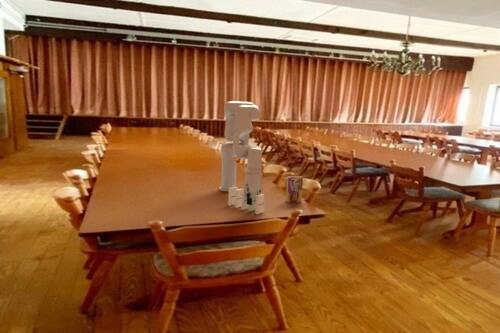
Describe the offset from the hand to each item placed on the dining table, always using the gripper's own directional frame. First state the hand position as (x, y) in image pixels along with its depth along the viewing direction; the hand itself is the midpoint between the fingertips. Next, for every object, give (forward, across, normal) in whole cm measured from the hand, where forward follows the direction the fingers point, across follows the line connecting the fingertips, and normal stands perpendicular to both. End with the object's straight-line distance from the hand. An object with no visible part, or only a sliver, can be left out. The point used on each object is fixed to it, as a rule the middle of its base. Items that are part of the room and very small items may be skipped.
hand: (252, 203), depth 187 cm
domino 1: (+4, 0, -15) cm, 16 cm away
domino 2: (+4, 0, -10) cm, 11 cm away
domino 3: (+4, 0, -5) cm, 7 cm away
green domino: (+4, 0, 0) cm, 4 cm away
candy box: (+5, -32, +5) cm, 33 cm away
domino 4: (+4, 0, +5) cm, 7 cm away
